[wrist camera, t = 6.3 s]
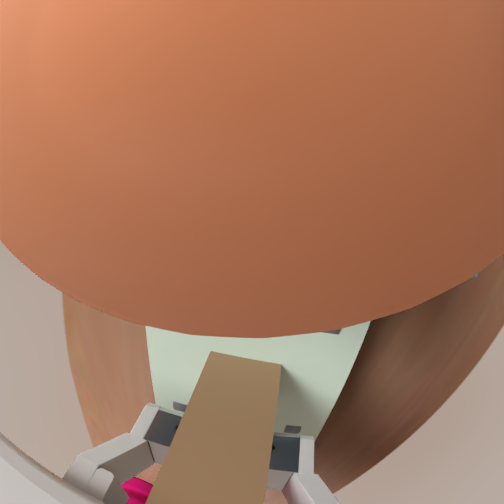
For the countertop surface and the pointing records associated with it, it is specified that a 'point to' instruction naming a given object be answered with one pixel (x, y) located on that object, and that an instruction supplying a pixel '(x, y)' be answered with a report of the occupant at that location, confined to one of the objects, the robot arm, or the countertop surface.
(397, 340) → the countertop surface
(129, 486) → the pepper mill
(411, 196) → the orange rounded knob
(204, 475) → the carriage
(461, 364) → the countertop surface
